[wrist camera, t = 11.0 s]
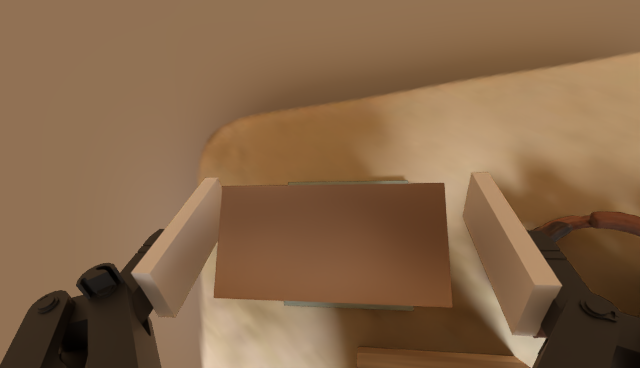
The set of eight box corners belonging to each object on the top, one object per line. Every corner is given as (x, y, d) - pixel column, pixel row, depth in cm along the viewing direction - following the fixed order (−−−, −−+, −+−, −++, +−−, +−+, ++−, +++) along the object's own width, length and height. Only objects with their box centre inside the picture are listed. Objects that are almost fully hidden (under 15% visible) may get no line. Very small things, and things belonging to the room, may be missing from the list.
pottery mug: (567, 407, 19) (580, 414, 13) (489, 268, 25) (474, 229, 19) (823, 355, 16) (995, 333, 10) (662, 206, 22) (708, 137, 16)
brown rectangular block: (405, 274, 21) (452, 307, 10) (292, 271, 22) (213, 297, 11) (402, 216, 22) (444, 183, 10) (293, 216, 23) (222, 186, 12)
